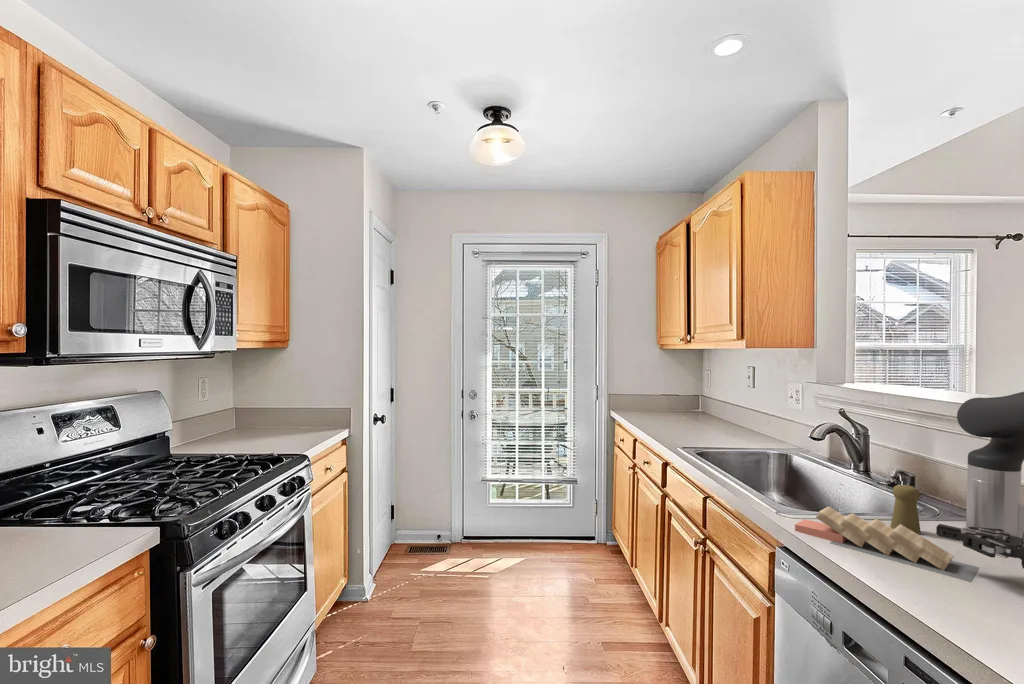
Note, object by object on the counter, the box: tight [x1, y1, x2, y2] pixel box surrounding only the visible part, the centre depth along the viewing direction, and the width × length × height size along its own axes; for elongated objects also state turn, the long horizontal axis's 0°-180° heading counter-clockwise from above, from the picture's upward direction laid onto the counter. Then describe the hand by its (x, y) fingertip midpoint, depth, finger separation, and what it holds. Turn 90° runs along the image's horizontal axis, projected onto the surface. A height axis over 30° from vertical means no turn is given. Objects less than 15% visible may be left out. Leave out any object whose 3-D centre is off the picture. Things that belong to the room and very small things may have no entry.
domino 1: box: [794, 519, 848, 543], centre depth 122 cm, size 2×6×10 cm
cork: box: [889, 484, 921, 535], centre depth 127 cm, size 6×6×11 cm
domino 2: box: [815, 506, 867, 547], centre depth 119 cm, size 2×6×10 cm
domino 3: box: [840, 512, 894, 556], centre depth 115 cm, size 2×6×10 cm
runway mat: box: [829, 539, 980, 583], centre depth 111 cm, size 24×10×1 cm, turn 41°
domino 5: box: [889, 524, 955, 571], centre depth 108 cm, size 2×6×10 cm
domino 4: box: [864, 518, 921, 563], centre depth 112 cm, size 2×6×10 cm
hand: (937, 529), depth 106 cm, fingers closed
